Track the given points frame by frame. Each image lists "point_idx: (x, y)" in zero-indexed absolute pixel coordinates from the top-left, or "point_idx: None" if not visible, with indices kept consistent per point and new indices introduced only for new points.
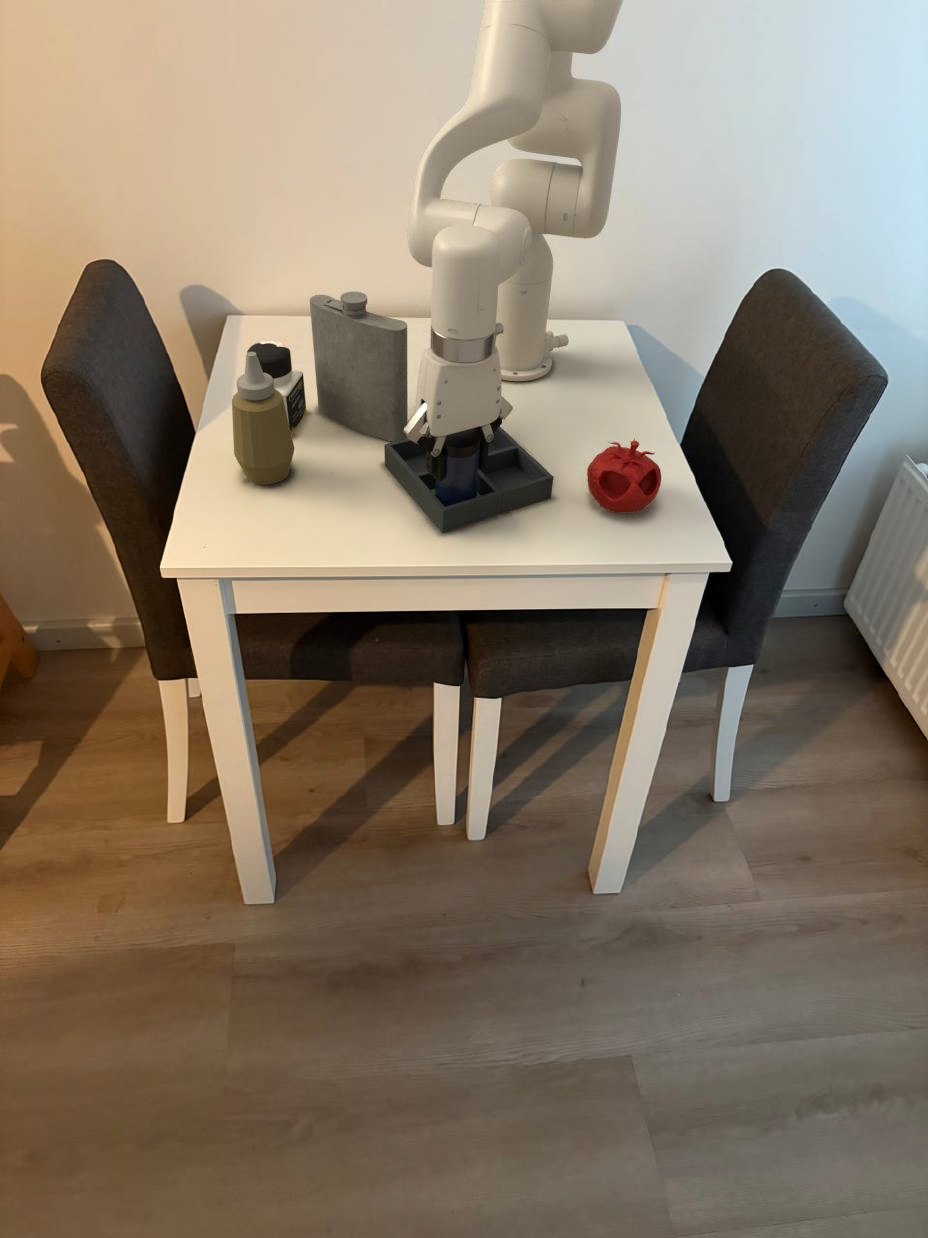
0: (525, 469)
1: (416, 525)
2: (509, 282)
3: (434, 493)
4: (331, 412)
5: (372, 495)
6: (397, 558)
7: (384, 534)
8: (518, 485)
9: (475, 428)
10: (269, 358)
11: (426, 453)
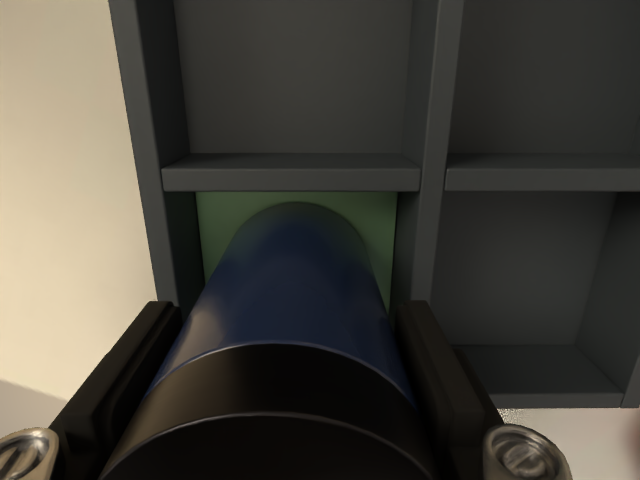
0: (620, 242)
1: (142, 291)
2: None
3: (249, 200)
4: None
5: (35, 73)
6: (46, 384)
7: (32, 288)
8: (496, 399)
9: (481, 473)
10: None
11: (55, 425)
